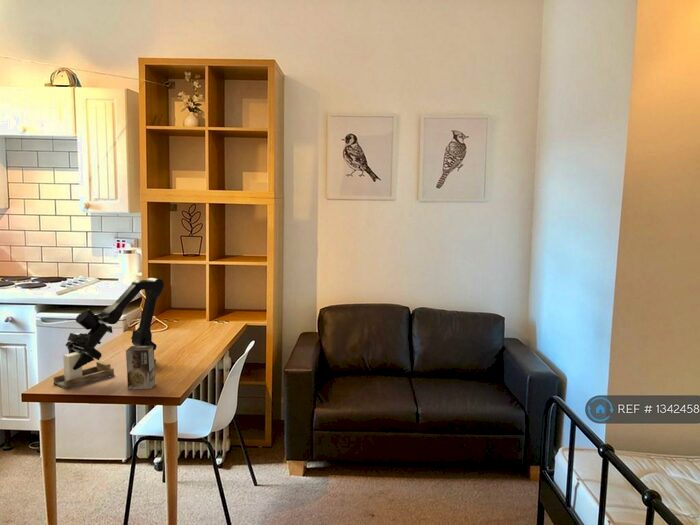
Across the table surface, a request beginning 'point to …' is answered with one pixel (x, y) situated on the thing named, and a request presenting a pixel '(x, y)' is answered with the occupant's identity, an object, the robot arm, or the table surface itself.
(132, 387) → the coffee box
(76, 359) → the block
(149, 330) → the robot arm
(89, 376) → the track
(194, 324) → the table surface
